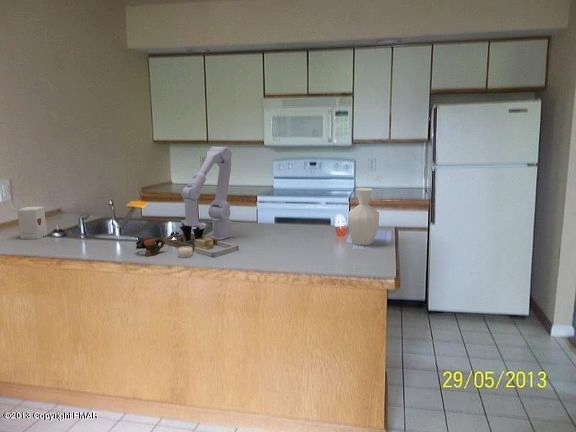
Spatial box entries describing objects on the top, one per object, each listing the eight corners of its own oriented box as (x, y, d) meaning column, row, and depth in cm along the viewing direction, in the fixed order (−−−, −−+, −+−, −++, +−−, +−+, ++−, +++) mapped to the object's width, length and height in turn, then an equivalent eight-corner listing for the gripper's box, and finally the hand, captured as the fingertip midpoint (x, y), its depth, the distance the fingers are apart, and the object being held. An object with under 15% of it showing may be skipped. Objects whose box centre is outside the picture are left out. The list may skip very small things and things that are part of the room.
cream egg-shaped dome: (186, 253, 197) (186, 245, 197) (195, 255, 193) (195, 247, 193) (175, 256, 193) (174, 248, 192) (184, 259, 189) (183, 250, 188)
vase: (342, 244, 207) (343, 190, 202) (353, 237, 219) (354, 186, 214) (373, 248, 201) (374, 192, 195) (382, 241, 213) (384, 188, 208)
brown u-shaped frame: (187, 237, 224) (186, 232, 224) (217, 244, 210) (217, 239, 209) (162, 243, 214) (161, 238, 213) (192, 251, 199) (191, 246, 199)
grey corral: (220, 245, 209) (220, 241, 208) (238, 249, 201) (238, 245, 201) (195, 252, 198) (194, 247, 198) (213, 257, 190) (213, 252, 190)
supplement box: (38, 239, 224) (34, 209, 221) (20, 239, 224) (16, 209, 221) (48, 234, 233) (44, 206, 230) (30, 234, 233) (27, 206, 230)
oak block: (204, 245, 209) (204, 237, 208) (213, 247, 205) (212, 239, 204) (195, 248, 205) (194, 239, 204) (203, 250, 201) (203, 241, 200)
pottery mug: (140, 259, 191) (133, 241, 192) (141, 263, 200) (134, 245, 201) (167, 248, 195) (160, 231, 196) (167, 252, 204) (161, 236, 205)
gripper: (174, 212, 209) (176, 241, 211) (194, 216, 199) (196, 246, 202) (187, 210, 214) (188, 238, 217) (207, 213, 205) (208, 243, 207)
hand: (193, 242), depth 210 cm, fingers open, 7 cm apart
